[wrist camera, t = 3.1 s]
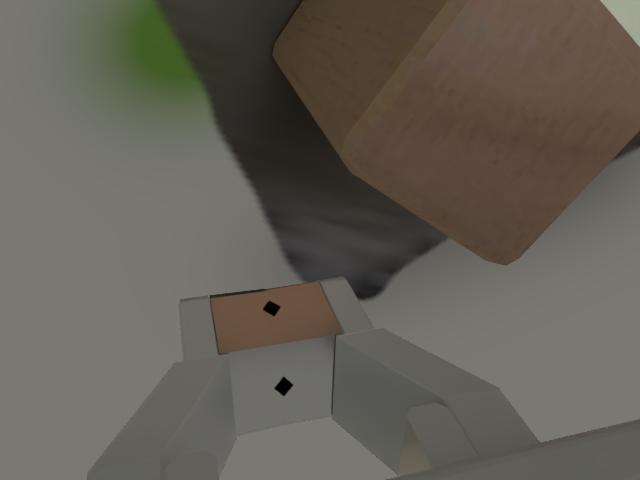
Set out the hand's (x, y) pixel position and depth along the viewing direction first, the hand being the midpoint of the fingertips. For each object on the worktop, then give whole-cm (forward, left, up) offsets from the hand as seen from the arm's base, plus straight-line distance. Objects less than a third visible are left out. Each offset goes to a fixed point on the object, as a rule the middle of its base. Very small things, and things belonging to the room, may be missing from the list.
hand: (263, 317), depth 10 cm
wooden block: (-12, 0, -29) cm, 31 cm away
